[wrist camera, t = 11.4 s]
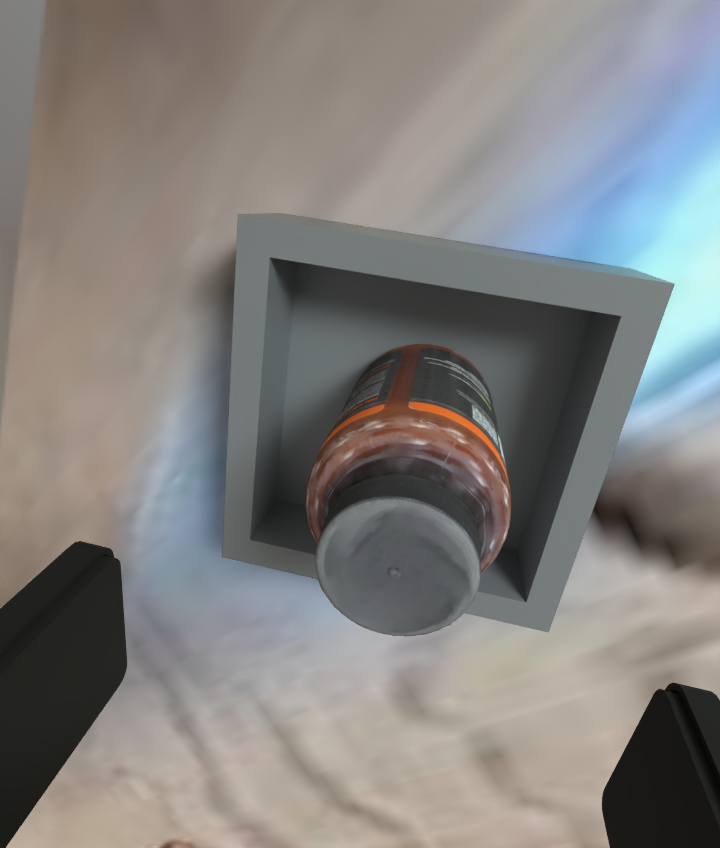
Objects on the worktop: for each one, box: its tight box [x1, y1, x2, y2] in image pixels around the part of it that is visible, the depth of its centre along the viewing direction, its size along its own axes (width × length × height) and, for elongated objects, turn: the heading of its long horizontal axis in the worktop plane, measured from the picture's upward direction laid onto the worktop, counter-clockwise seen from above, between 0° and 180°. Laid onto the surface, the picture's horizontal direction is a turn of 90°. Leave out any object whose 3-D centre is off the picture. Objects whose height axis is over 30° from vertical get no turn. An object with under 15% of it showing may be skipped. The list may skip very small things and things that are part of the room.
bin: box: [222, 213, 675, 632], centre depth 22 cm, size 14×14×4 cm
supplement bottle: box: [306, 344, 511, 636], centre depth 18 cm, size 6×6×11 cm
